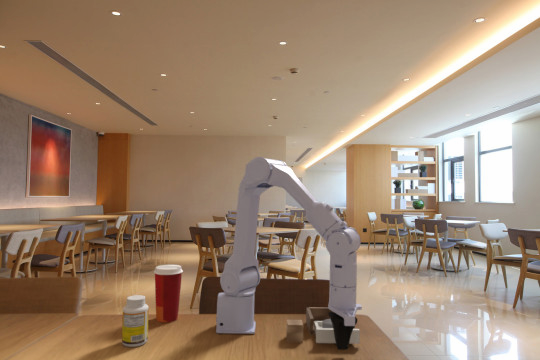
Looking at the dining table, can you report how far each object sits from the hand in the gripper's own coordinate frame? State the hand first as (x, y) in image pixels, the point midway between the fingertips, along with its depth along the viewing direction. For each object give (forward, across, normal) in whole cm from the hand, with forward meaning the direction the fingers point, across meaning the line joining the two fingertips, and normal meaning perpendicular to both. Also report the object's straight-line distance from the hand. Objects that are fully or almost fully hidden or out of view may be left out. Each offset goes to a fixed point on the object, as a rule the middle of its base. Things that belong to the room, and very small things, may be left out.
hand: (342, 348), depth 80 cm
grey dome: (0, +10, 0) cm, 10 cm away
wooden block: (+2, +9, +10) cm, 13 cm away
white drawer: (+1, +9, 0) cm, 9 cm away
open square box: (+2, +16, 0) cm, 16 cm away
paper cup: (+2, +21, +43) cm, 48 cm away
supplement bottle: (+2, +5, +46) cm, 46 cm away
